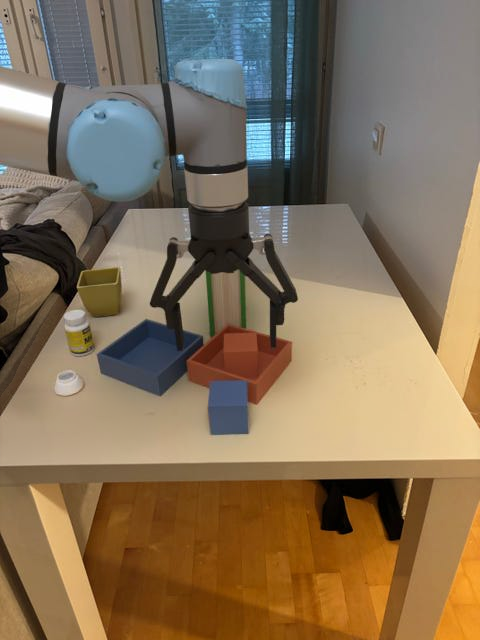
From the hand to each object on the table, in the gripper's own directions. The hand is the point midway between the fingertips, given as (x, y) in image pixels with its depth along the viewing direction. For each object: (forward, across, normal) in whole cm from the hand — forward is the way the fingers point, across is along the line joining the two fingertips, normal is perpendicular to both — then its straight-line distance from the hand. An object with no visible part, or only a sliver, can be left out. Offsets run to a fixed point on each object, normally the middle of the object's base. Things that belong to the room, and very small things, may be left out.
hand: (226, 344), depth 69 cm
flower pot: (+15, +29, -37) cm, 49 cm away
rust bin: (+15, -2, -13) cm, 20 cm away
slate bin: (+15, +15, -16) cm, 26 cm away
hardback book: (+15, +1, -32) cm, 35 cm away
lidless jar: (+15, +29, -9) cm, 34 cm away
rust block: (+14, -2, -13) cm, 19 cm away
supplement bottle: (+15, +30, -21) cm, 40 cm away
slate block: (+15, 0, 0) cm, 15 cm away
